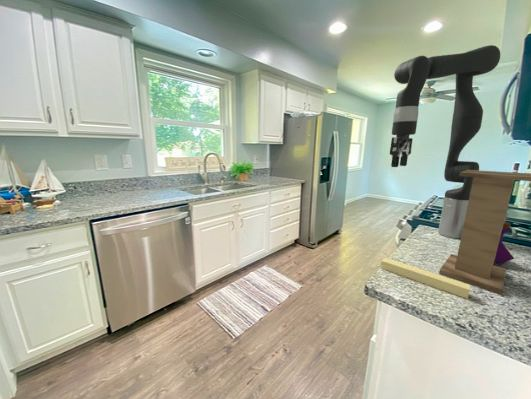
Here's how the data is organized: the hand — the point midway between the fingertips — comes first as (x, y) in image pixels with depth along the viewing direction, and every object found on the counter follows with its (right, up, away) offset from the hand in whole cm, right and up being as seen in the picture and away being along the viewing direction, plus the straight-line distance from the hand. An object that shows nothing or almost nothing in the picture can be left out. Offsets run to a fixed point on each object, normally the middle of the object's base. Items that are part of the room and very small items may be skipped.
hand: (398, 166), depth 85 cm
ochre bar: (-3, -37, -16) cm, 41 cm away
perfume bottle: (+30, -34, -5) cm, 46 cm away
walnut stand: (+16, -36, -13) cm, 41 cm away
